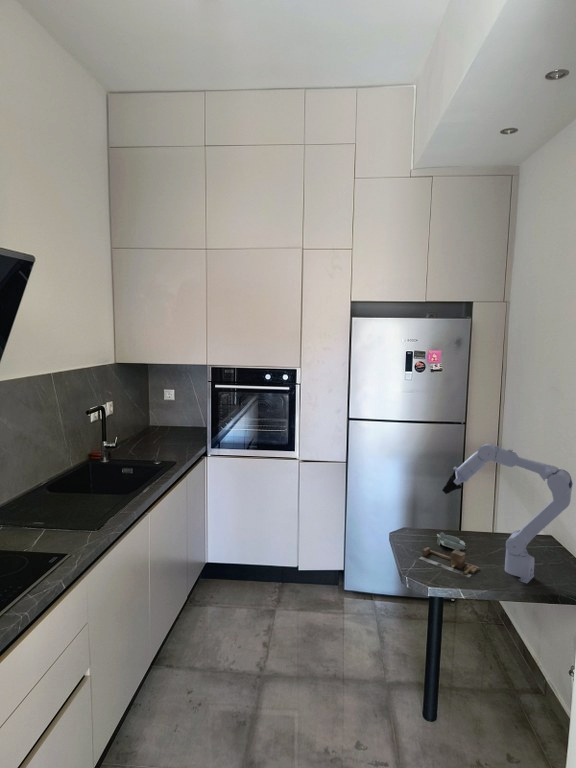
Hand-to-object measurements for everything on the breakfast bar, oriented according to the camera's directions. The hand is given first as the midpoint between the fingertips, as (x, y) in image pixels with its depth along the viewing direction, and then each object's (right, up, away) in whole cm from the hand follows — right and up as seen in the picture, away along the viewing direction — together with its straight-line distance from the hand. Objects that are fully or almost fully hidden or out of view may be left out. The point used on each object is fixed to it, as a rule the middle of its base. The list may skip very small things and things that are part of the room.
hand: (446, 488), depth 193 cm
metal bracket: (+5, -27, +9) cm, 29 cm away
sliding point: (0, -27, -11) cm, 29 cm away
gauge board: (-2, -28, -9) cm, 30 cm away
